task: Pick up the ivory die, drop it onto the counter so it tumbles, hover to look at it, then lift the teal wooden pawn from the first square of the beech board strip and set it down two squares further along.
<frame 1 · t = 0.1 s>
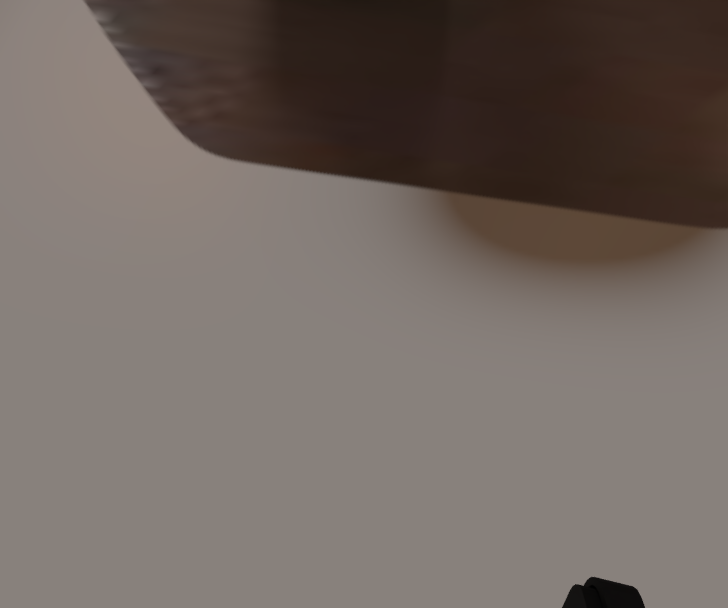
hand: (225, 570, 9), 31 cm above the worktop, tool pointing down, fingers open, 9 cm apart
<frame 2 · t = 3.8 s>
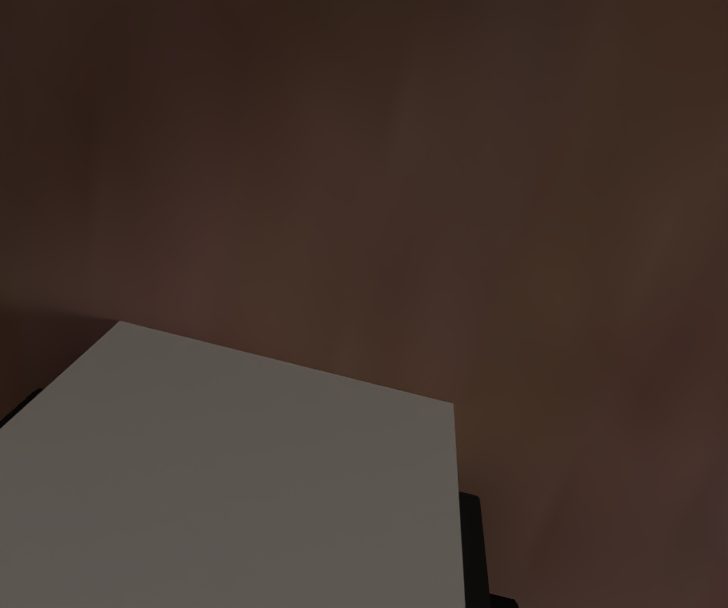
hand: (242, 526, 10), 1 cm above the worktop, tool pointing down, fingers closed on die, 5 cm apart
die: (258, 496, 11), on the worktop, touching gripper
when the fingers open (7 cm above the worktop, at t = 5.6 s): die drops 7 cm, on the worktop.
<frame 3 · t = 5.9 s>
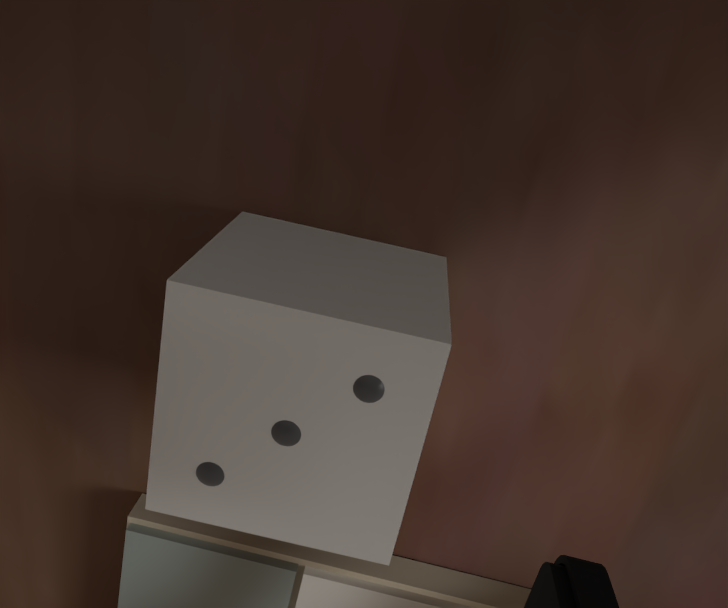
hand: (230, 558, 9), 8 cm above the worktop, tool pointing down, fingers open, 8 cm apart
die: (326, 325, 17), on the worktop
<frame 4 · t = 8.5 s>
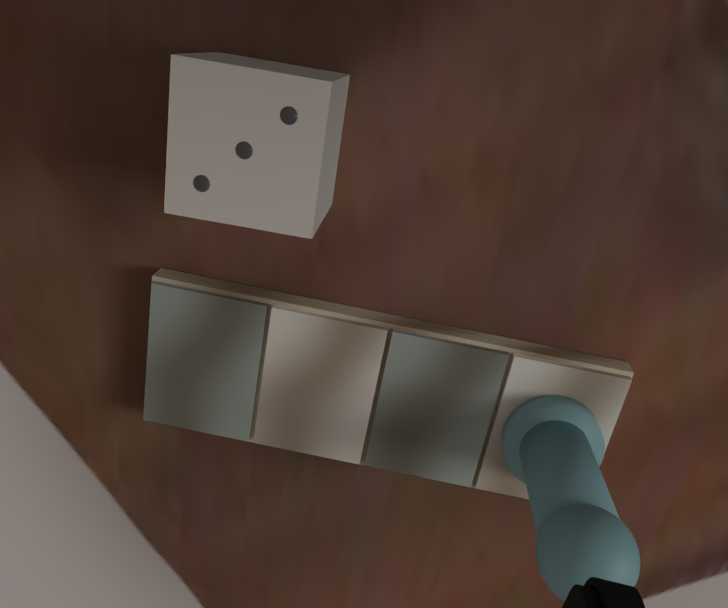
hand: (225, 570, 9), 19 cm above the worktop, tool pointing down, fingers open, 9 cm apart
die: (277, 130, 26), on the worktop
pawn: (550, 436, 28), point 1 cm above the worktop, touching board
board: (377, 386, 29), on the worktop
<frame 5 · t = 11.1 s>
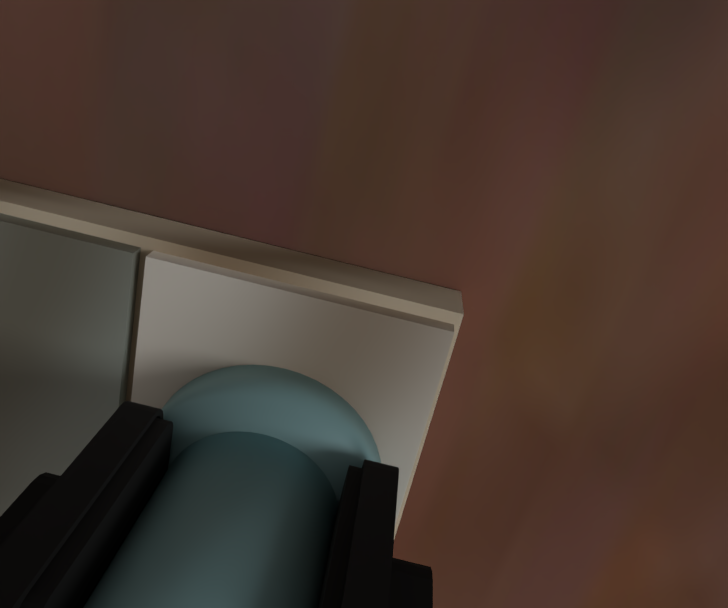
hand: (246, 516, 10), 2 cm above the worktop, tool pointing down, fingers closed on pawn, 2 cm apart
pawn: (264, 470, 11), point 1 cm above the worktop, touching board, gripper
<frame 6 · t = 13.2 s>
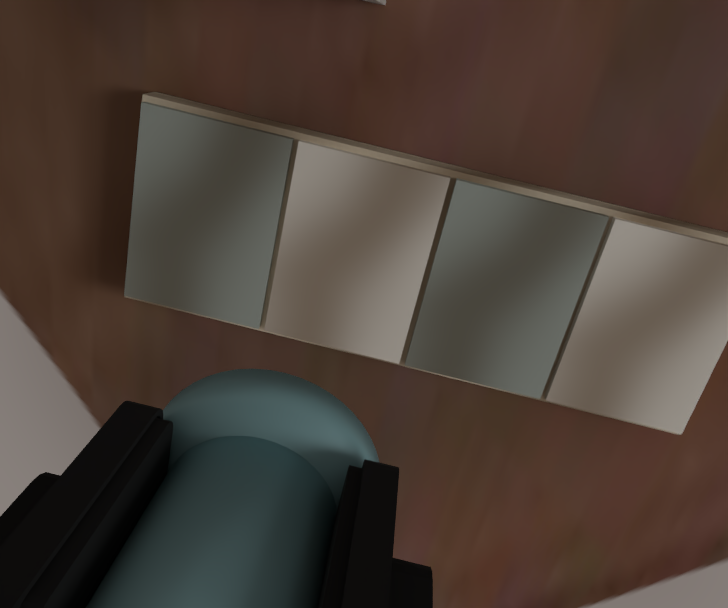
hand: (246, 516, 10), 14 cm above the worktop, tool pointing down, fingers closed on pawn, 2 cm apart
pawn: (263, 473, 11), point 13 cm above the worktop, touching gripper
board: (426, 264, 23), on the worktop
when the fingers open (4 cm above the worktop, at t = 15.1 s): pawn drops 1 cm, resting on board.
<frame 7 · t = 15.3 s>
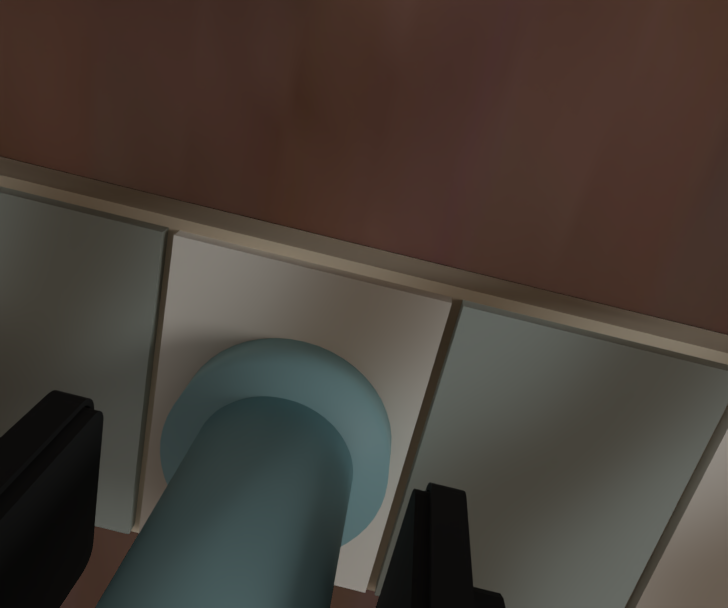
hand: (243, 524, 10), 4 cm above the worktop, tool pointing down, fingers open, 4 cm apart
pawn: (284, 435, 12), point 1 cm above the worktop, touching board
board: (411, 426, 14), on the worktop
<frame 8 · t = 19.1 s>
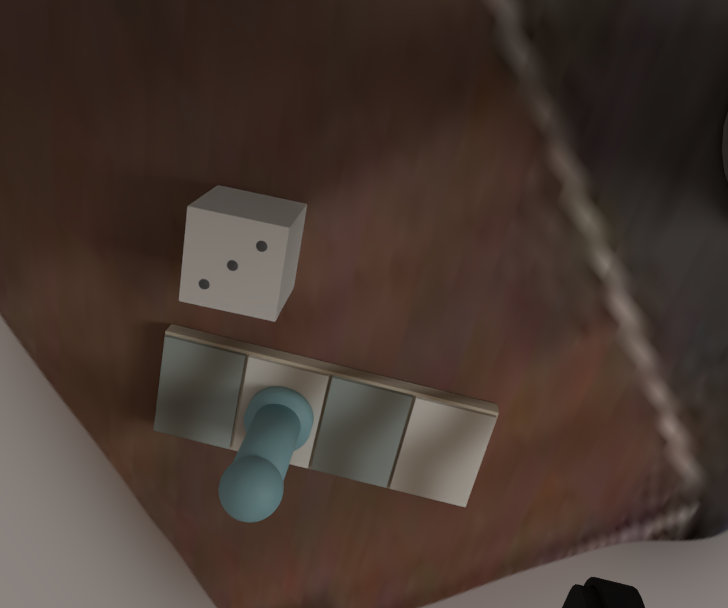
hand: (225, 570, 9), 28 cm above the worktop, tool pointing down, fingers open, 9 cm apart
die: (257, 237, 37), on the worktop
pawn: (280, 415, 40), point 1 cm above the worktop, touching board
board: (322, 413, 41), on the worktop
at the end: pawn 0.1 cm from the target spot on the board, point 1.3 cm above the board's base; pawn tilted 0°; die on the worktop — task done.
